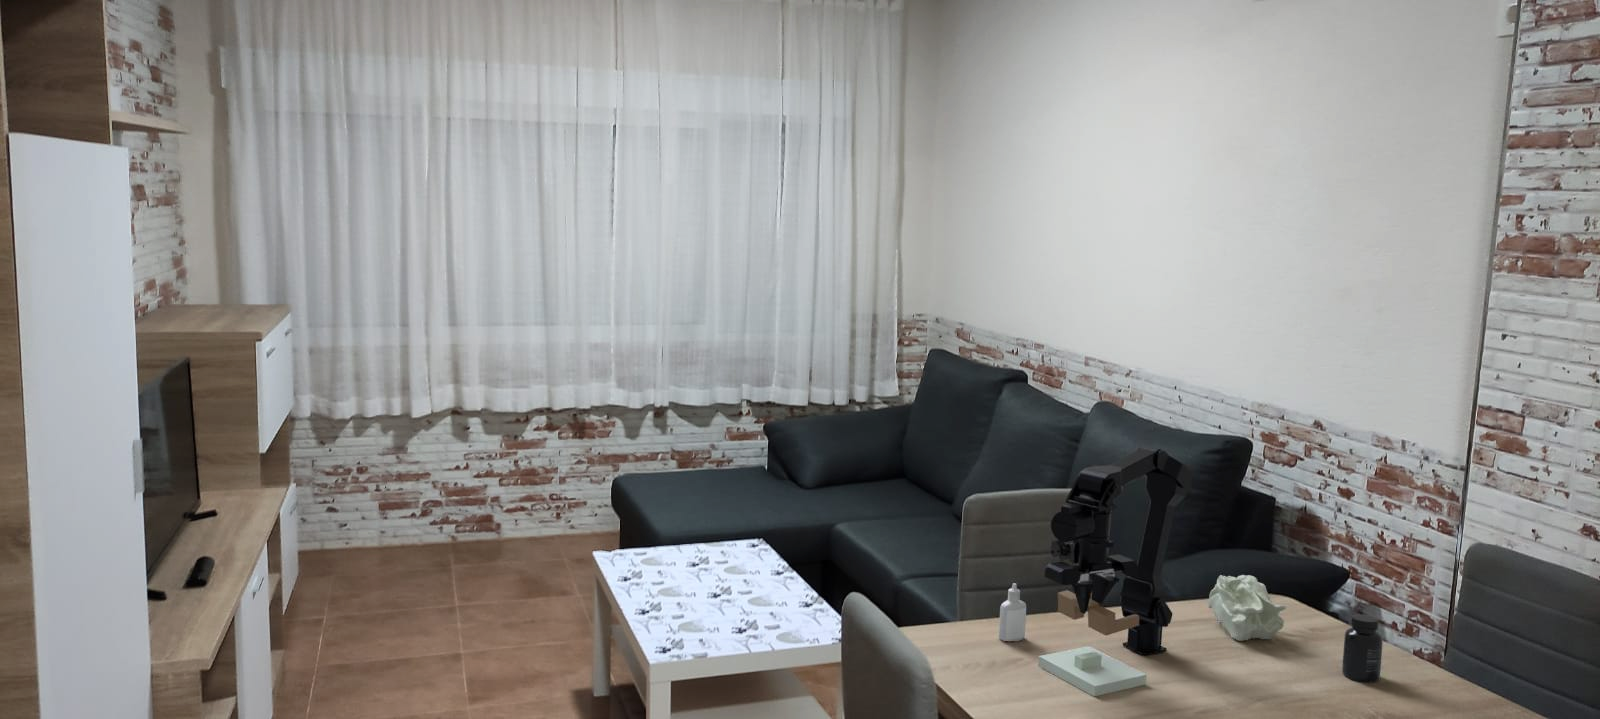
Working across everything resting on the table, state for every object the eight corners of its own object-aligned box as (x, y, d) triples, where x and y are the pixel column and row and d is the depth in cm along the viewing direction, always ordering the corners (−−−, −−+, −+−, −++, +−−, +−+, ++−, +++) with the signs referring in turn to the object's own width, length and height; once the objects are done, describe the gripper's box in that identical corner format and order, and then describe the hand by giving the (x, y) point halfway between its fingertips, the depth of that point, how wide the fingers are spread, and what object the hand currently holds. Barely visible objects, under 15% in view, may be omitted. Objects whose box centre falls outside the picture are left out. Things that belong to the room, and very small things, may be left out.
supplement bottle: (1377, 672, 231) (1382, 615, 230) (1381, 685, 225) (1387, 626, 223) (1339, 667, 234) (1344, 610, 232) (1343, 680, 227) (1348, 621, 226)
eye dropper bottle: (1026, 643, 242) (1029, 587, 241) (999, 642, 242) (1002, 586, 241) (1023, 635, 247) (1026, 581, 245) (996, 634, 247) (999, 580, 245)
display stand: (1088, 655, 236) (1089, 635, 236) (1145, 684, 222) (1147, 663, 222) (1038, 665, 230) (1039, 645, 230) (1094, 696, 216) (1095, 674, 216)
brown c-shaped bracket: (1090, 602, 236) (1089, 581, 236) (1139, 625, 224) (1138, 603, 223) (1058, 611, 233) (1057, 590, 232) (1105, 635, 220) (1105, 613, 220)
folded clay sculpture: (1263, 669, 249) (1301, 618, 242) (1209, 655, 247) (1246, 603, 239) (1235, 610, 265) (1270, 560, 257) (1184, 597, 262) (1218, 546, 255)
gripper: (1102, 519, 235) (1097, 594, 237) (1029, 527, 227) (1024, 604, 229) (1142, 534, 225) (1136, 611, 227) (1066, 542, 217) (1061, 623, 219)
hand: (1088, 612), depth 226 cm, fingers closed on brown c-shaped bracket, 2 cm apart
